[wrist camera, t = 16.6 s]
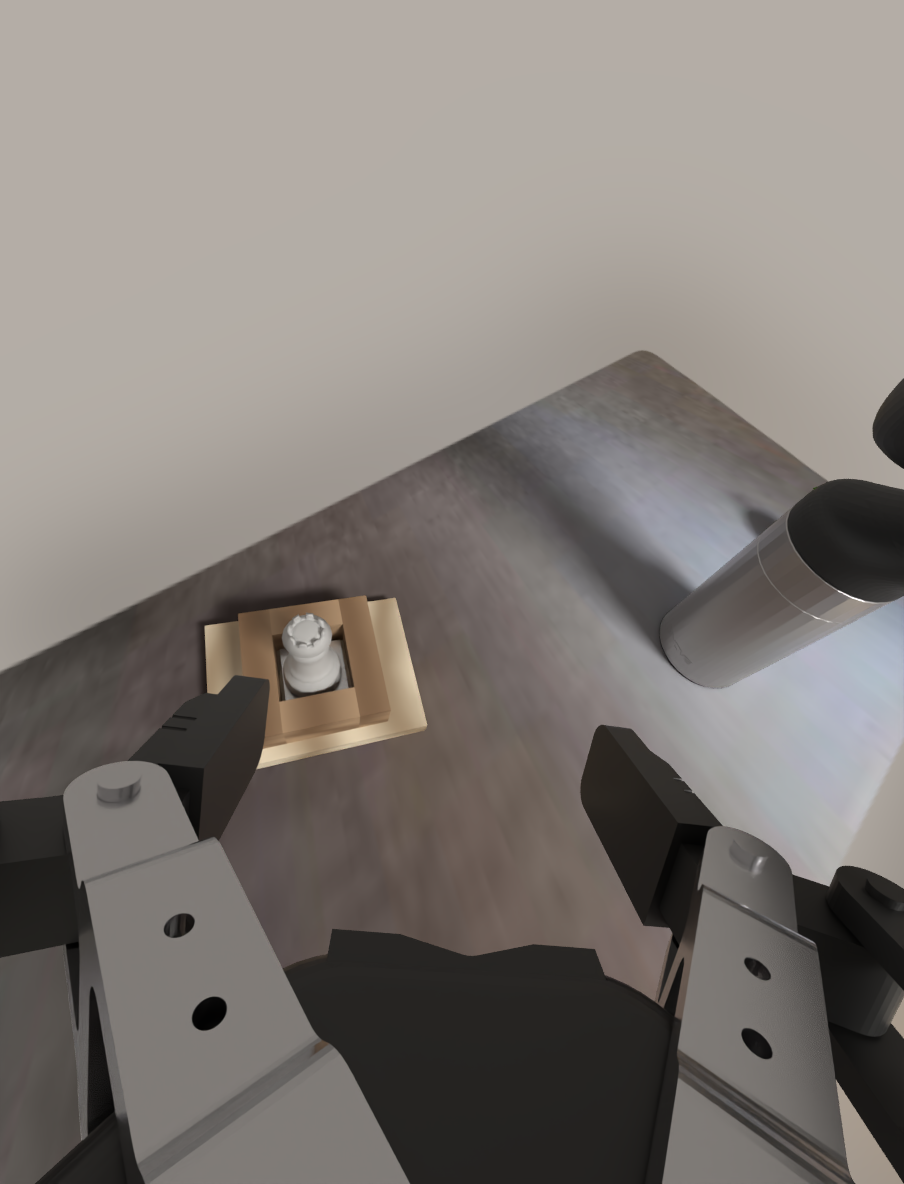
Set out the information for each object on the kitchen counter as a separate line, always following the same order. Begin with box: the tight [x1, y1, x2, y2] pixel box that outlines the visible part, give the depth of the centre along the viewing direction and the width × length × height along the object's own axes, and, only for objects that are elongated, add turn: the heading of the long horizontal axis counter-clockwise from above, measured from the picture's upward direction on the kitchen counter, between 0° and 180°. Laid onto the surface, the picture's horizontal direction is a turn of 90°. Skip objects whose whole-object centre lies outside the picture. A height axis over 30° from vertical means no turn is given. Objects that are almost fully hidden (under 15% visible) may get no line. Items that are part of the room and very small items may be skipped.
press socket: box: [205, 595, 427, 769], centre depth 39 cm, size 16×12×4 cm
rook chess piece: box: [282, 613, 342, 697], centre depth 36 cm, size 4×4×8 cm
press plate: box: [280, 640, 349, 700], centre depth 39 cm, size 5×5×1 cm
